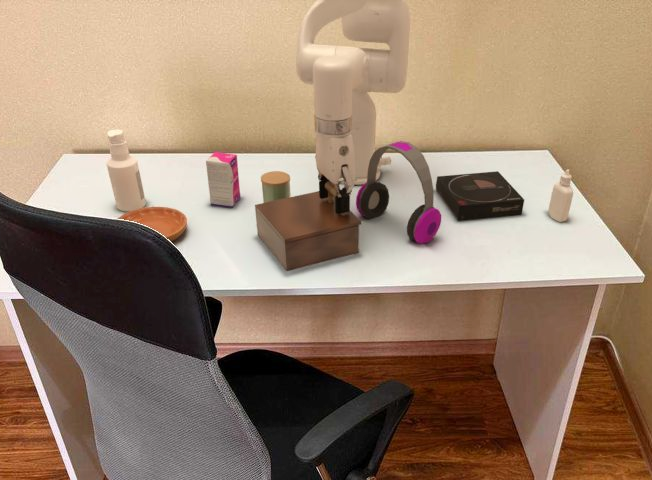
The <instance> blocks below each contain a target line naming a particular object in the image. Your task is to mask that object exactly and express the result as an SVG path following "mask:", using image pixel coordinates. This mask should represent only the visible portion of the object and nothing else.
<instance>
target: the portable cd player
mask: <svg viewBox="0 0 652 480" xmlns="http://www.w3.org/2000/svg"><path fill="white" fill-rule="evenodd" d="M435 191H436V193H437V195H438V196H439V197H440V199H441V200H442V202H443V203H444V204H445V206H446V208H447V209H448V210H449V211H450V213H451V214H452V215H453V216H454V219H455V220H456V221H457V222H462V221H463V222H464V221H475V220H484V219H494V218H502V217H503V218H505V217H514V216H522V215H523V209H524V204H525V199H524V197H523V196H522V195H521V194H520V193H519V192H518V191H517V190H516V189H515V188H514V187H513V186H512V184H510V182H509V181H508V180H507V179H506V178H505V177H504V176H503V175H502V173H500V172H499V171H498V170H496V171H486V172H485V171H484V172H474V173H473V172H472V173H461V174H450V175H439V176H437V177H436V182H435Z"/></svg>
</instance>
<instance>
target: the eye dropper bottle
mask: <svg viewBox="0 0 652 480" xmlns="http://www.w3.org/2000/svg"><path fill="white" fill-rule="evenodd" d="M572 176H573V175H572V174H570V169H565V171H564V173H561V174H560V179H559V182H556V183H555V184H553V187H552V191H551V196H550V201H549V205H548V210H547V214H548V215H549V218H551V219H553V220H554V221H556V222H557V223H558V222H559V223H560V222H561V223H562V222H567V221H568V218H569V215H570V210H571V205H572V202H573V197H574V189H573V187H572V186H571V181H572V178H573V177H572Z"/></svg>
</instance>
